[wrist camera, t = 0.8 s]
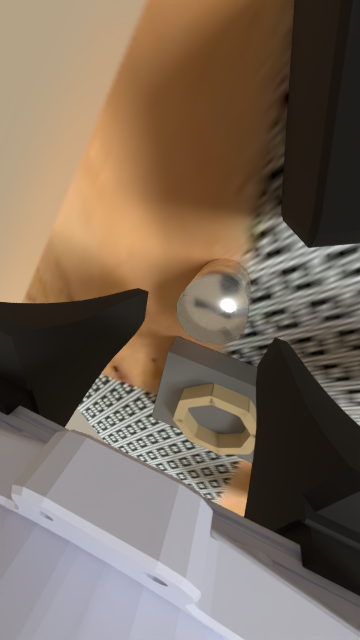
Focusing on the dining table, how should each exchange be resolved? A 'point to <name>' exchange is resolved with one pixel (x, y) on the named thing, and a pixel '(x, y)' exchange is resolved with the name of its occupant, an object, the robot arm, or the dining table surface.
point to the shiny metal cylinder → (216, 302)
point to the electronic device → (323, 124)
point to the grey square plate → (209, 398)
